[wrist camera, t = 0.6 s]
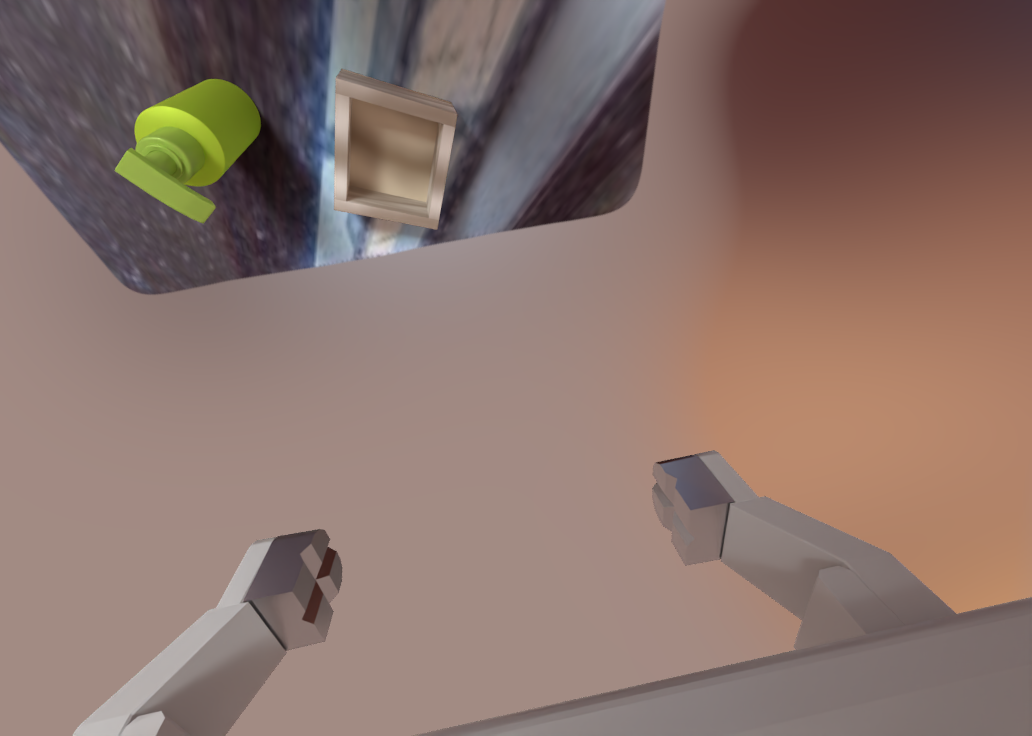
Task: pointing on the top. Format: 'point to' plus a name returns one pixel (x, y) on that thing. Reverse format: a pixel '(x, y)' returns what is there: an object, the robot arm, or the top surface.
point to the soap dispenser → (190, 144)
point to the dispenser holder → (390, 150)
